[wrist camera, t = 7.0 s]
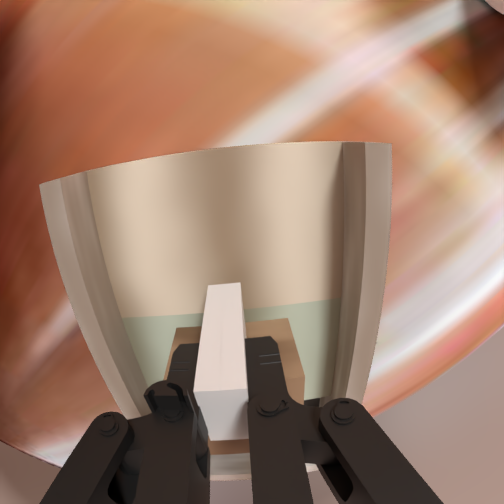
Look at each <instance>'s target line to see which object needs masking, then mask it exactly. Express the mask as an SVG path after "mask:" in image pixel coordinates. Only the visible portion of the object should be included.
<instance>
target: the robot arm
mask: <svg viewBox="0 0 504 504" xmlns="http://www.w3.org/2000/svg"><path fill="white" fill-rule="evenodd" d="M143 396H144V398H145V400H146V402H147V404H148V406H149V408H150V410H151V412H152V413H150V414H148V415H145V416H142V417H137V418H133V419H128V420H127V419H126V418H125V417H124V415H122V414H120V413H118V412H106V413H103V414H101V415H99V416H97V417H96V418H95V419H94V421H93V422H92V423H91V425H90V426H89V428H88V429H87V431H86V432H85V434H84V435H83V437H82V438H81V440H80V441H79V443H78V444H77V446H76V447H75V449H74V450H73V452H72V453H71V455H70V456H69V458H68V459H67V461H66V462H65V464H64V466H63V467H62V469H61V470H60V472H59V473H58V475H57V477H56V478H55V480H54V481H53V483H52V484H51V486H50V488H49V489H48V491H47V492H46V494H45V496H44V497H43V499H42V501H41V502H40V504H210V456H211V454H210V450H209V447H208V435H209V438H210V440H211V441H216V440H237V439H249V449H250V464H251V478H252V491H253V504H313V499H312V494H311V489H310V484H309V479H308V474H307V469H306V465H305V463H310V464H316V466H317V468H318V469H319V471H320V473H321V475H322V476H323V478H324V479H325V481H326V483H327V485H328V486H329V488H330V490H331V491H332V493H333V495H334V496H335V498H336V500H337V501H338V503H339V504H443V502H442V501H441V500H440V499H439V498H438V496H437V495H436V494H435V493H434V492H433V491H432V489H431V488H430V487H429V486H428V484H427V483H426V482H425V481H424V480H423V478H422V477H421V476H420V475H419V474H418V473H417V471H416V470H415V469H414V468H413V466H412V465H411V464H410V463H409V462H408V460H407V459H406V458H405V457H404V456H403V454H402V453H401V452H400V451H399V449H398V448H397V447H396V446H395V445H394V443H393V442H392V441H391V440H390V439H389V437H388V436H387V435H386V434H385V433H384V431H383V430H382V429H381V428H380V426H379V425H378V424H377V423H376V422H375V420H374V419H373V418H372V416H371V415H370V414H369V413H368V412H367V410H366V409H365V408H364V407H363V406H362V405H361V404H360V403H359V402H358V401H356V400H353V399H350V398H337V399H333V400H331V401H329V402H327V403H326V404H325V405H324V406H323V407H314V406H307V405H302V404H300V403H298V402H296V401H295V400H293V399H292V398H291V396H290V395H289V393H288V390H287V386H286V381H285V376H284V371H283V367H282V363H281V357H280V353H279V348H278V343H277V342H276V341H275V340H274V339H273V338H272V337H271V336H264V337H254V338H246V327H245V318H244V310H243V301H242V292H241V284H240V282H239V283H229V284H218V285H208V290H207V296H206V303H205V309H204V316H203V323H202V330H201V337H200V343H188V344H180V345H179V346H178V347H177V348H176V349H175V351H174V352H173V355H172V359H171V364H170V367H169V372H168V376H167V380H162V381H158V382H156V383H154V384H152V385H151V386H150V387H148V388H147V389H146V391H145V393H144V395H143Z"/></svg>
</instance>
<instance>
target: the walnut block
mask: <svg viewBox="0 0 504 504" xmlns="http://www.w3.org/2000/svg"><path fill="white" fill-rule="evenodd" d="M245 327H246V338H254V337H264V336H271V337H272V338H273V339H274V340H275V341H276V342H277V343H278V348H279V353H280V357H281V363H282V367H283V371H284V376H285V381H286V386H287V390H288V393H289V395H290V396H291V398H292V399H293V400H295V401H296V402H298V403H300V404H302V405H304V389H305V374H304V371H303V367H302V364H301V361H300V357H299V354H298V350H297V347H296V344H295V340H294V337H293V333H292V330H291V327H290V323H289V320H288V318H282V319H273V320H264V321H255V322H245ZM201 330H202V326H196V327H180V328H176V331H175V335H174V339H173V343H172V347H171V351H170V355H169V359H168V363H167V367H166V371H165V375H164V379H163V380H167V376H168V372H169V367H170V364H171V359H172V355H173V352H174V351H175V349H176V348H177V347H178V346H179V345H180V344H188V343H200V337H201ZM208 447H209V450H210V454H211V455H223V454H242V453H250V449H249V439H237V440H216V441H211V440H210V438H209V435H208Z"/></svg>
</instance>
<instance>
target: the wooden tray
mask: <svg viewBox="0 0 504 504" xmlns="http://www.w3.org/2000/svg"><path fill="white" fill-rule="evenodd" d="M39 186H40V192H41V197H42V203H43V208H44V213H45V217H46V222H47V226H48V230H49V234H50V238H51V242H52V246H53V250H54V253H55V257H56V260H57V264H58V267H59V270H60V274H61V277H62V280H63V283H64V286H65V289H66V292H67V295H68V298H69V300H70V303H71V306H72V309H73V311H74V314H75V316H76V319H77V321H78V324H79V326H80V329H81V331H82V334H83V336H84V338H85V341H86V343H87V345H88V347H89V350H90V352H91V354H92V356H93V358H94V360H95V363H96V365H97V367H98V369H99V371H100V373H101V375H102V377H103V379H104V381H105V383H106V385H107V386H108V388H109V390H110V392H111V394H112V396H113V397H114V399H115V401H116V403H117V405H118V406H119V408H120V410H121V412H122V413H123V415H124V417H125V418H126V419H127V420H128V419H133V418H137V417H142V416H145V415H148V414H150V413H152V412H151V410H150V408H149V406H148V404H147V402H146V400H145V398H144V396H143V395H144V393H145V391H146V389H147V388H148V387H150V386H151V385H152V384H154V383H156V382H158V381H162V380H163V379H164V375H165V371H166V367H167V363H168V359H169V355H170V351H171V347H172V343H173V339H174V335H175V331H176V328H180V327H196V326H202V323H203V316H204V309H205V303H206V296H207V290H208V285H218V284H229V283H239V282H240V284H241V292H242V301H243V310H244V318H245V322H255V321H264V320H273V319H282V318H288V320H289V323H290V327H291V330H292V333H293V337H294V340H295V344H296V347H297V350H298V354H299V357H300V361H301V364H302V367H303V371H304V374H305V389H304V405H307V406H314V407H323V406H324V405H325V404H326V403H327V402H329V401H331V400H333V399H337V398H350V399H353V400H356V401H358V402H359V403H360V404H361V405H362V401H363V397H364V393H365V389H366V385H367V381H368V377H369V373H370V368H371V364H372V359H373V355H374V350H375V345H376V339H377V334H378V329H379V323H380V317H381V310H382V304H383V297H384V289H385V281H386V273H387V264H388V253H389V241H390V226H391V205H392V143H375V142H351V141H320V142H290V143H271V144H257V145H245V146H234V147H224V148H215V149H206V150H198V151H191V152H183V153H177V154H170V155H164V156H158V157H152V158H146V159H140V160H135V161H130V162H125V163H120V164H115V165H110V166H106V167H101V168H97V169H92V170H88V171H85V172H81V173H77V174H73V175H70V176H66V177H62V178H59V179H56V180H52V181H49V182H46V183H42V184H39ZM305 465H306V469H307V472H311V471H317V470H319V469H318V468H317V466H316V464H310V463H305ZM247 479H252V478H251V464H250V453H242V454H223V455H211V456H210V481H224V480H225V481H227V480H247Z"/></svg>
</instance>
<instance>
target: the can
mask: <svg viewBox="0 0 504 504" xmlns="http://www.w3.org/2000/svg"><path fill="white" fill-rule="evenodd" d="M484 1H485V2H486V3H488V4H489V5H490V6H491V7H493V8H494V9H495V10H497V11H498V12H500V13H502V14H504V0H484Z"/></svg>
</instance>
